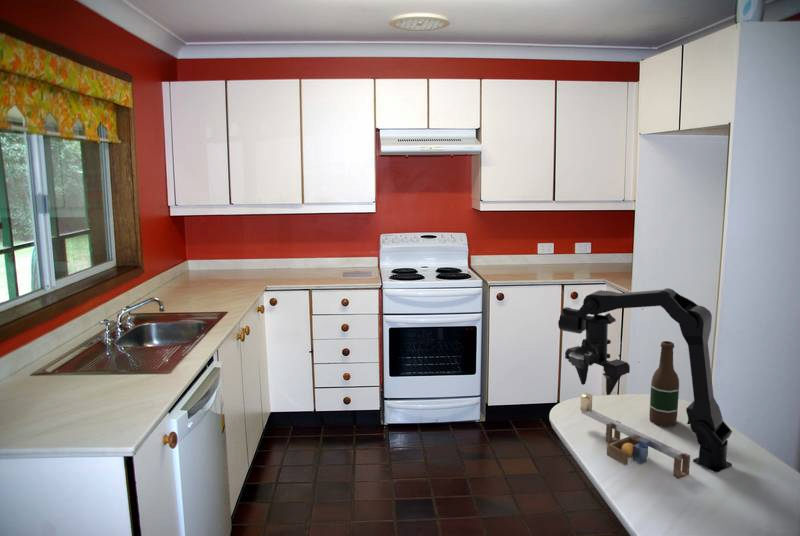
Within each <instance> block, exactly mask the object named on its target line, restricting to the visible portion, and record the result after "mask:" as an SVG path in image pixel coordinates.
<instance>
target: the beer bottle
mask: <svg viewBox="0 0 800 536" xmlns="http://www.w3.org/2000/svg"><path fill="white" fill-rule="evenodd" d="M674 348H675V343H674V342H672V341H668V340H663V341H661V343H660V349H661V350H660V357H659V365H658V367H657V369H656V370H655V371H654V373H653V375H652V378H651V383H650V397H649V422H651V423H652V424H654V425H655V426H660V427H666V428H670V427H674V426H676V425H677V422H678V421H677V420H678V419H677V418H678V411H679V410H678V409H679V393H680V378H679V375H678V374H677V372H676V371H675V366H674Z"/></svg>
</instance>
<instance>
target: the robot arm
mask: <svg viewBox="0 0 800 536" xmlns="http://www.w3.org/2000/svg"><path fill="white" fill-rule="evenodd" d="M646 307H647V308H649V307H661V308H662V309H664V311H665V312H666V313H667V314H668V315H669V317H670V318H671V319H672V320H674V321H675V322H677V323H678V326H679V328H680V332H681V335H682V337H683V339H684V340H685V343H687V344H686V345H687V347H688V357H689V365H690V374H691V385H692V392H693V393H692V394H693V401H691V403H690V404H689V405H688V406H687V407H686V410H685V411H686V415H687V423H686V424H687V425H689V427H690V430H691V431H692V432H693V433H694V434H695V437H696V439H697V442H698V443H697V444H698V445H699V449H698V456H697V457H695V458H694V459H692V460H693V463H695V464H697V465H699V466H701V467H704V468H706V469H707V470H710V471H711V472H713V473H720V472H722V471H723V470H726V469H728V468H731V467H732V466H733V464H732V463H731V462H729V461H727V455H728V445H729V444H728V443H729V440H728V439H729V438H730V436H731V435H732V433H733V430H732V429H731V428H730V427H729V426H728V424H726V422H725V421H724V419H723V415H722V411H721V408H720V406H719V404H718V402H717V401H716V399H715V397H714V389H713V379H712V369H711V361H710V352H709V351H710V350H709V339H710V335H711V330H712V320H713V316H712V312H711V311H710V310H709V309H707V307H705V306H703V305H699V304H697V303H695V302H694V301H693V300H691V299H689V298H688V297H685V296H683V295H682V294H679V293H678V292H676V291H675V290H674V289H672V288H667V287H666V288H663V289H656V290H654V289H653V290H643V291H642V290H641V291H631V292H616V291H611V290H602V289H601V290H600V289H599V290H596V291H593V292H592V293H590V294H587V295H586V296H585V297H584V298H583V302H582V305H581V307H580V308H579V309H576V308H575V309H574V308H571V307H568V306H567V307H563V308H562V309H561V310H562V311H561V314H560V316H559V320H558V329H559V330H560V331H561V332H566V333H567V332H568V333H573V334H580V335H581V334H582V333H584V332H585V338H583V339H582V341H581V346H580V345H577V346H572V347H569V348H567V349H566V350H565V352H564V356H565V358H564V359H566V360H567V361H568V362H569V363H571V365H572V366H574V368H575V370H576V372H577V375H578V378H579V381H580V383H581V385H583V386H584V385H586V383H587V380H588V379H587V378H588V373H589V367H591V366H593V365H594V364H595V365H598V366H600V367H603V371H604V372H603V373H602V375H603V376H604V378H605V393H606V396H610V395H611V393H612V392H613V390H614V388H615V387H616V385H617V383H618V382H619V380H620V379H621V377H622V376H624V375H627V374H629V373H630V371H631V367H630V366H631V365H630V364H629V363H628V362H627V361H624V360H620V359H618V358H617V359H613V360H608V359H610V358H611V353H608V345H610V344H611V343H612V342H611V341H612V340H611V339H608V334H609V333H608V331H609V330H608V328H609V325H610V324H611V325H612V324H613V323H615V322H616V321H617V319H616V318H615V317H614V316H612V315H611V313H610V312H611V311H615V310H618V309H631V308H632V309H633V308H646ZM603 313H604V314H603ZM605 313H607V314H605Z"/></svg>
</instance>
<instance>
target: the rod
mask: <svg viewBox="0 0 800 536" xmlns="http://www.w3.org/2000/svg"><path fill="white" fill-rule="evenodd" d="M579 409H580V411H581V414H583V415H585V416H587V418H588V417H589V418H591V419H593V420H595V421H597V422H599V423H601V424H603V425H605V426H606V424H608V423H609V424H611V425H613V428H612V430H614V429H615V430H617V431H619V432H620V434H623V435H625V436H627V437H631V438H633V439H635V440H637V441H639V444H636V445H633V457H632V461H633V462H635V463H636V464H637V463H638V464H639V465H641V464H645V463H647V462H648V457H647V448H648V449H649V447H650V448H651V449H654V450H656V451H658V452H659V453H662V454H664V455H666V456H667V457H670V458H672V459H674V457H679V458H681V459H682V460H683V454H684V452H682V451H680V450H677V449H676V448H674V447H672V446H669V445H667V444H665V443H663V442H662V441H659V440H657V439H655V438H653V437H651V436H649V435H646V434H644V433H642V432H640V431H638V430H636V429H634V428H631V427H630V426H628V425H625V424H624V423H622V422H621V423H619V422H620V421H619V422H617V421H618V420H615V419H612V418H610V417H609V416H606V415H604V414H602V413H601V412H598V411H596V410H594V409H593V395H592V394H591V393H587V392H582V393H581V394H580V406H579Z"/></svg>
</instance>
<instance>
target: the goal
mask: <svg viewBox="0 0 800 536" xmlns="http://www.w3.org/2000/svg"><path fill="white" fill-rule="evenodd" d="M625 443H631V444H633V445H636V444H639V441H637V440H635V439H633V438H631V437H629V436H627V437H624V438H620V440H617V441H615V442H612V443H608V444H607V445H606V446H607V447H606V449H607V450H606V456H608V457H610V458H611V459H613V460H615V461H617V462H619V463H620V464H622V465H625V466H627V465H629V464H628V461H629V460H628V459H629V457H628V453H626V452H624V451H622V450H621V448H622V446H623V444H625ZM648 456H649V447H648V448H647V458H648Z"/></svg>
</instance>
